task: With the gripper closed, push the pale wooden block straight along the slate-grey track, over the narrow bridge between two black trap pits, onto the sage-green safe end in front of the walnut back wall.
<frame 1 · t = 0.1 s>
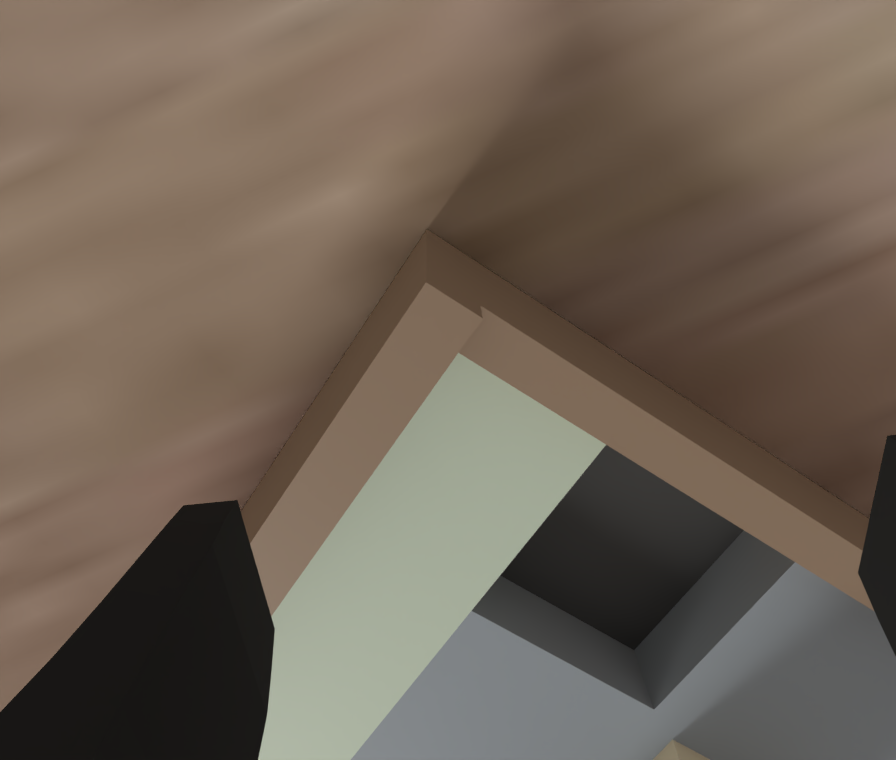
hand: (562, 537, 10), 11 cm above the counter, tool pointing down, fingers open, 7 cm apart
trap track: (538, 699, 24), on the counter
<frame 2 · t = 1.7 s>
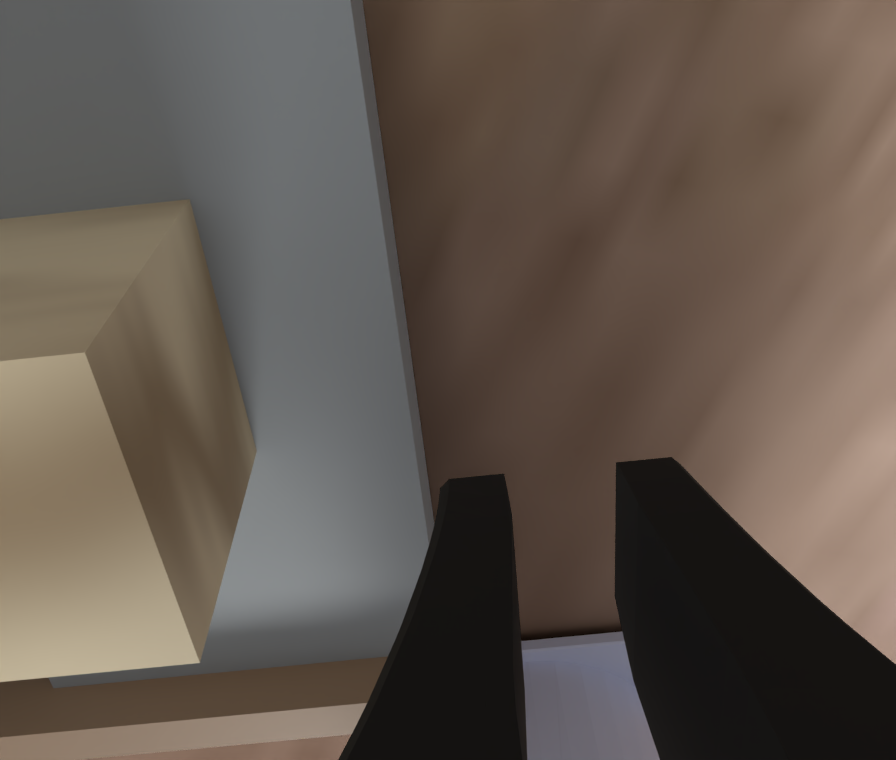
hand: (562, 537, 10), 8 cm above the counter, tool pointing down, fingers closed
wood block: (85, 350, 15), point 2 cm above the counter, touching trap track
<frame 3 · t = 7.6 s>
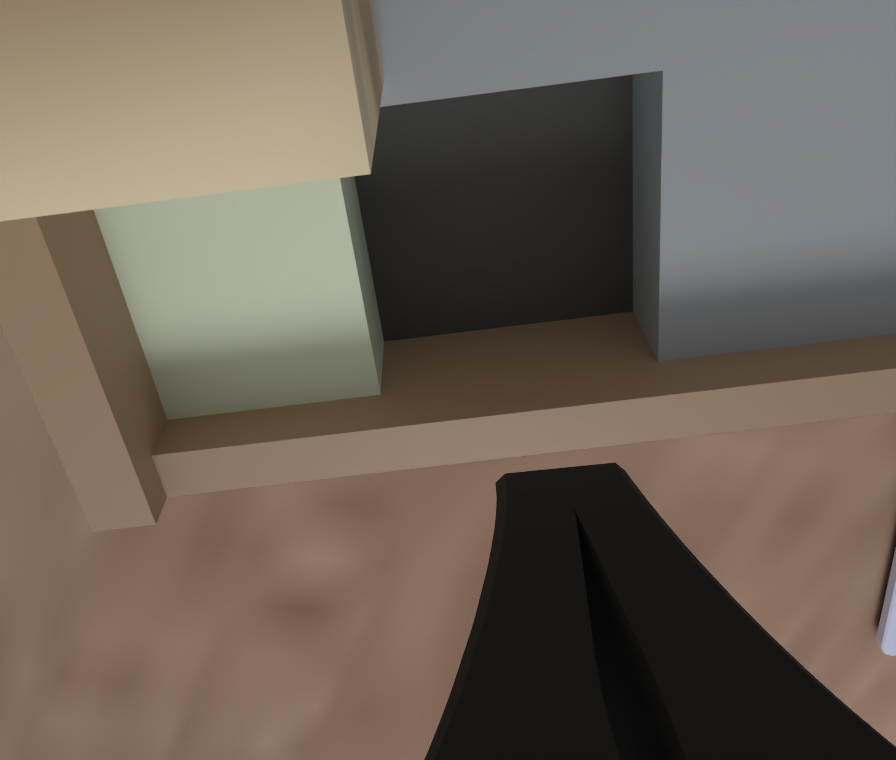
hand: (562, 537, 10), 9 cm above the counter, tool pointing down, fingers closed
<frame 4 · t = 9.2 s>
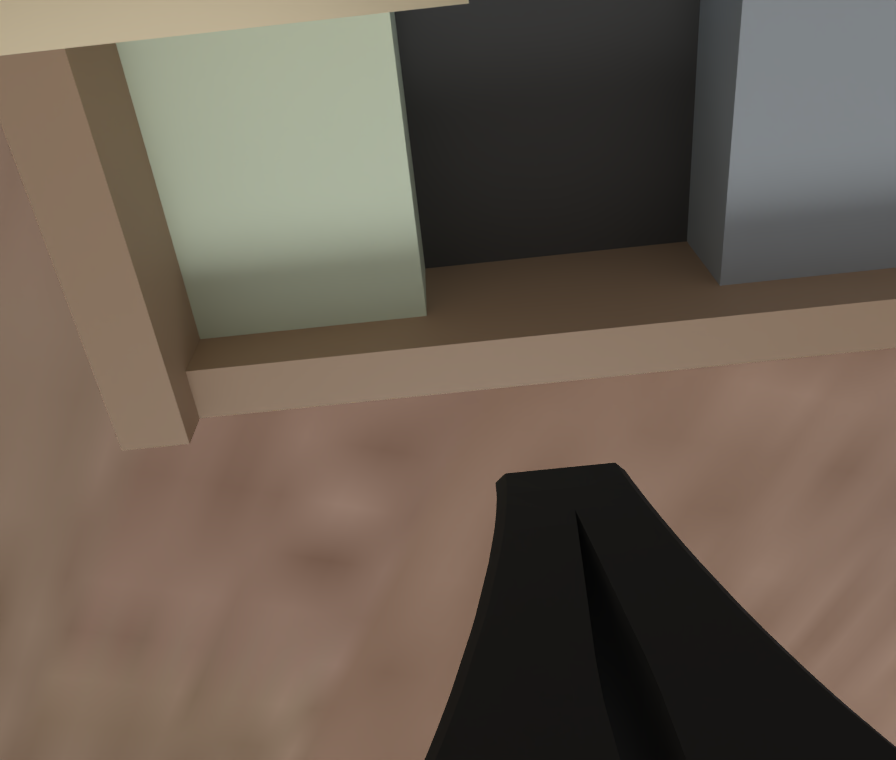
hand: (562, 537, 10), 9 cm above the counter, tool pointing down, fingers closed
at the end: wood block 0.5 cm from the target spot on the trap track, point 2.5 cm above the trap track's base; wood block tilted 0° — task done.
